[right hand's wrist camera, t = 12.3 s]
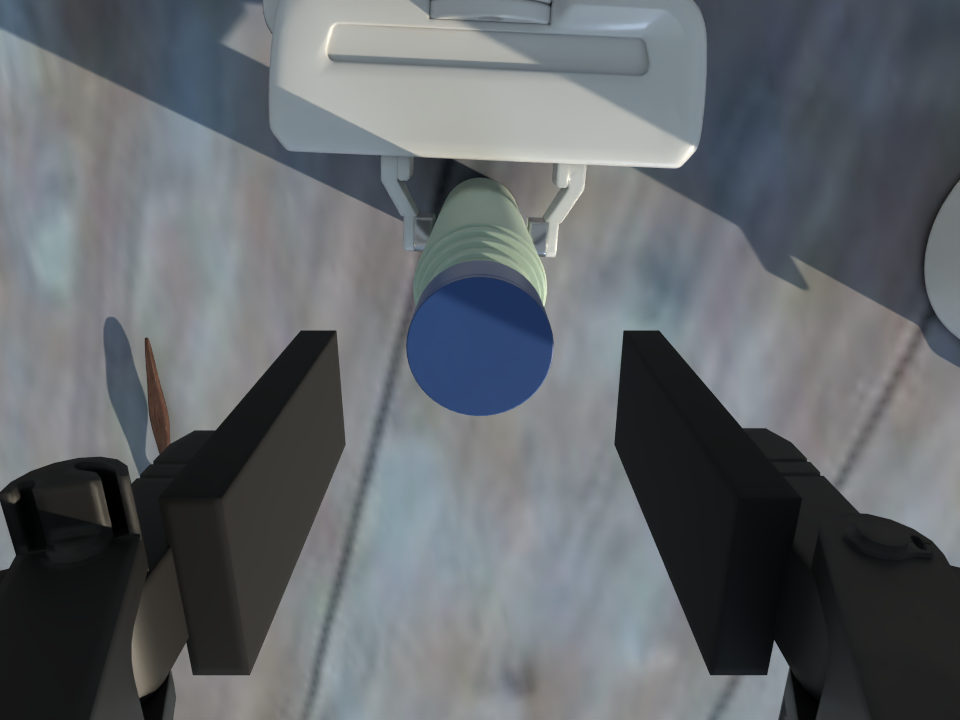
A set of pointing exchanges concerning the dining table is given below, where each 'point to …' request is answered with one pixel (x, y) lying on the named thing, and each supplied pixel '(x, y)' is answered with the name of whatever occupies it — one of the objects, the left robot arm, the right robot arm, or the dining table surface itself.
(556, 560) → the dining table surface
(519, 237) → the bottle
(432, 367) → the cap
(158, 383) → the fork
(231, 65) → the dining table surface
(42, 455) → the dining table surface
